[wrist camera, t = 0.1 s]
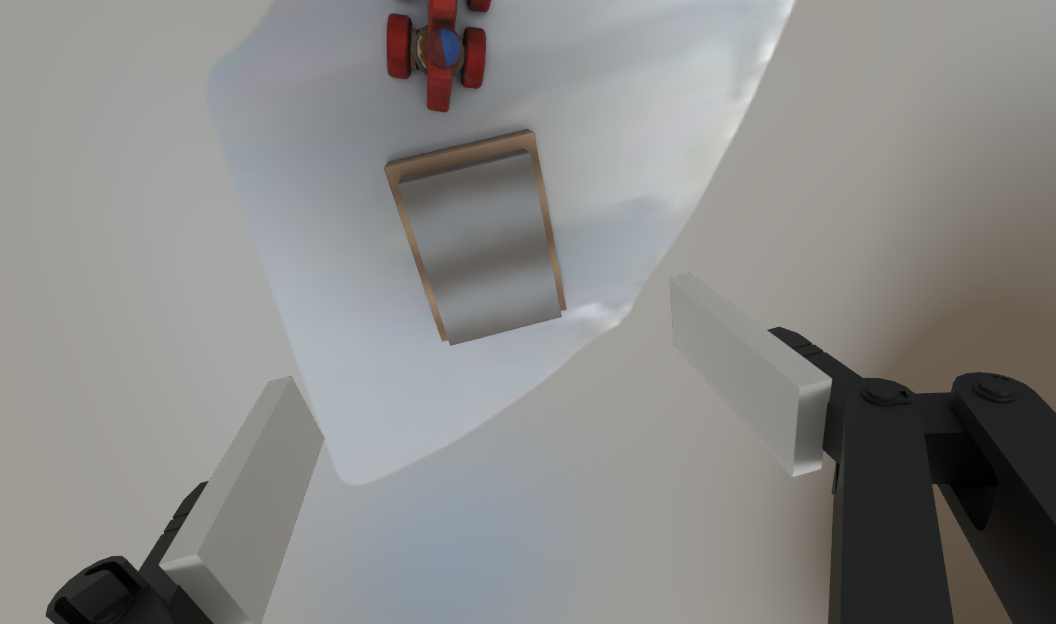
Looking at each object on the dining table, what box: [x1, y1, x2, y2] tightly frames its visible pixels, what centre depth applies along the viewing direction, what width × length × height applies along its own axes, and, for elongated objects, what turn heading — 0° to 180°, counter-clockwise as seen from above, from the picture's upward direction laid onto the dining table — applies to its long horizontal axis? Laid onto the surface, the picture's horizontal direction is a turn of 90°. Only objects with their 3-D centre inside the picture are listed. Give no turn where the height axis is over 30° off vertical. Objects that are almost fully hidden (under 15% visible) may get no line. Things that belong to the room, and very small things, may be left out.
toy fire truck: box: [387, 0, 491, 112], centre depth 31 cm, size 7×12×10 cm, turn 172°
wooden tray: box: [384, 129, 567, 346], centre depth 40 cm, size 16×12×6 cm
